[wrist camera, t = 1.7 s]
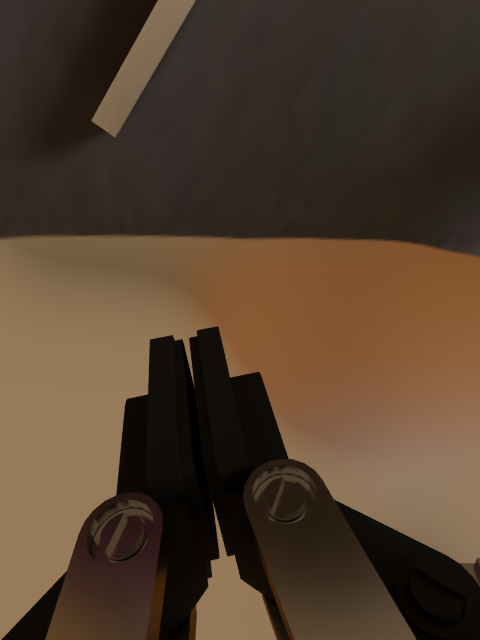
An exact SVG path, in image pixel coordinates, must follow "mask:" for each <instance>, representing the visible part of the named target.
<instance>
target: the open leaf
mask: <svg viewBox="0 0 480 640" xmlns="http://www.w3.org/2000/svg"><path fill="white" fill-rule="evenodd" d="M195 1H196V0H158V1H157V3H156V5H155V7H154V9H153V10H152V12H151V14H150V16H149V18H148V19H147V21H146V23H145V25H144V27H143V28H142V30H141V32H140V34H139V36H138V37H137V39H136V41H135V43H134V45H133V46H132V48H131V50H130V52H129V54H128V55H127V57H126V59H125V61H124V63H123V64H122V66H121V68H120V70H119V72H118V73H117V75H116V77H115V79H114V81H113V82H112V84H111V86H110V88H109V90H108V91H107V93H106V95H105V97H104V99H103V100H102V102H101V104H100V106H99V108H98V110H97V111H96V113H95V115H94V117H93V119H92V120H91V121H92V122H94V123H95V124H97V125H98V126H99V127H101V128H102V129H104V130H105V131H107V132H108V133H109V134H111V135H112V136H114V137H116V136H117V134H118V132H119V131H120V129H121V128H122V126H123V124H124V123H125V121H126V119H127V118H128V116H129V114H130V112H131V111H132V109H133V107H134V106H135V104H136V102H137V100H138V99H139V97H140V95H141V94H142V92H143V90H144V88H145V87H146V85H147V83H148V82H149V80H150V78H151V77H152V75H153V73H154V71H155V70H156V68H157V66H158V65H159V63H160V61H161V59H162V58H163V56H164V54H165V53H166V51H167V49H168V48H169V46H170V44H171V42H172V41H173V39H174V37H175V36H176V34H177V32H178V30H179V29H180V27H181V25H182V24H183V22H184V20H185V18H186V17H187V15H188V13H189V12H190V10H191V8H192V7H193V5H194V3H195Z"/></svg>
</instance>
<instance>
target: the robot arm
mask: <svg viewBox="0 0 480 640" xmlns="http://www.w3.org/2000/svg"><path fill="white" fill-rule="evenodd" d="M189 342H190V351H191V360H192V368H193V378H194V384H193V380H192V376H191V372H190V368H189V363H188V359H187V355H186V351H185V347H184V343H183V340H182V339H181V340H177V341H175V340H174V337H173V335H171V336H166V337H161V338H156V339H151V340H150V353H149V354H150V355H149V384H148V395H144V396H139V397H135V398H129V399H127V400H126V404H125V412H124V422H123V432H122V443H121V453H120V463H119V473H118V484H117V494H116V496H114V497H112V498H110V499H108V500H106V501H104V502H103V503H102V504H101V505H100V506H98V507H97V508H96V509H95V510H94V511H93V512H92V513H91V514H90V515H89V517H88V518H87V519H86V520H85V522H84V524H83V526H82V528H81V531H80V533H79V535H78V538H77V542H76V545H75V548H74V551H73V554H72V558H71V560H70V564H69V567H68V570H67V571H66V572H65V573H64V575H63V576H62V577H61V578H60V579H59V580H58V581H57V582H56V583H55V584H54V585H53V586H52V587H51V588H50V589H49V590H48V591H47V592H46V594H45V595H44V596H43V597H42V598H41V599H40V600H39V601H38V602H37V603H36V604H35V605H34V606H33V607H32V608H31V609H30V611H28V612H27V613H26V614H25V616H24V617H23V618H22V619H21V620H20V621H19V622H18V623H17V624H16V625H15V626H14V627H13V628H12V629H11V630H10V631H9V632H8V633H7V634H6V635H5V637H4V638H3V639H2V640H195V637H196V621H197V611H196V604H197V602H198V601H199V599H200V598H201V596H202V595H203V594H204V592H205V591H206V589H207V588H208V579H207V578H211V577H212V571H211V562H210V561H211V560H215V559H219V548H218V539H217V531H216V524H215V515H214V507H215V511H216V515H217V519H218V522H219V526H220V530H221V534H222V537H223V541H224V546H225V549H226V553H227V556H231V555H235V557H236V562H237V566H238V570H239V574H240V578H241V579H242V580H243V581H244V582H246V583H247V584H249V585H250V586H252V587H253V588H255V589H256V590H258V591H259V592H260V593H262V597H263V601H264V603H265V607H266V610H267V612H268V615H269V618H270V621H271V624H272V627H273V630H274V633H275V636H276V638H277V640H480V558H477V560H476V563H457V562H456V561H454V560H453V559H451V558H449V557H448V556H446V555H445V554H443V553H440V552H438V551H436V550H434V549H432V548H430V547H428V546H426V545H424V544H422V543H420V542H418V541H416V540H414V539H412V538H410V537H408V536H406V535H404V534H402V533H400V532H398V531H396V530H394V529H392V528H390V527H388V526H386V525H384V524H382V523H380V522H378V521H376V520H374V519H372V518H370V517H368V516H366V515H364V514H362V513H360V512H358V511H356V510H354V509H352V508H350V507H348V506H346V505H344V504H342V503H340V502H338V501H336V500H334V499H333V497H332V496H331V494H330V492H329V490H328V489H327V487H326V485H325V484H324V482H323V480H322V479H321V478H320V476H319V475H318V474H317V473H316V471H315V470H314V469H312V468H311V467H309V466H308V465H306V464H305V463H302V462H299V461H296V460H292V459H288V456H287V453H286V450H285V447H284V444H283V441H282V438H281V434H280V432H279V428H278V426H277V422H276V420H275V416H274V413H273V410H272V407H271V404H270V401H269V398H268V395H267V392H266V389H265V386H264V383H263V380H262V377H261V374H260V372H256V373H251V374H246V375H241V376H237V377H231V378H230V375H229V371H228V367H227V362H226V358H225V354H224V349H223V345H222V341H221V336H220V332H219V328H218V326H217V327H212V328H207V329H202V330H197V336H196V337H191V338H189ZM194 386H195V388H194ZM213 503H214V507H213Z"/></svg>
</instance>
